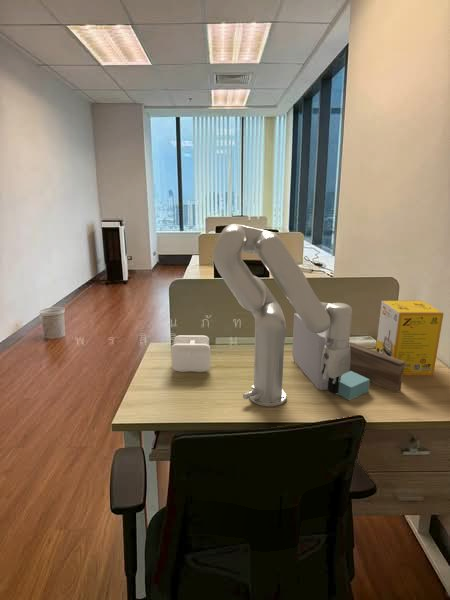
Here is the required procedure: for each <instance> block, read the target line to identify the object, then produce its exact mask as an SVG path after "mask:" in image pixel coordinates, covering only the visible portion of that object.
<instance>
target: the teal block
mask: <svg viewBox="0 0 450 600" xmlns="http://www.w3.org/2000/svg"><path fill="white" fill-rule="evenodd" d="M370 382H371V381H370V379H368V378H365V377H363V376H361V375H359V374H357V373H355V372H352V371H349V372H347V373H345V374H343V375H342V376H341V380H340V382H339V390H338V393H336V394H338V395H339V396H341V397H343V398H345V399H347V400H349V401H351V400H354V399H355V398H357V397H359V396H360V397H361V396H362V395H364V394H367V393H368V392H369V390H370V389H369V387H370Z"/></svg>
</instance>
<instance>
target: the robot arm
mask: <svg viewBox="0 0 450 600" xmlns="http://www.w3.org/2000/svg"><path fill="white" fill-rule="evenodd" d="M243 253H246V254H250V255H256V256H258V258H259V260H260V261H261V263H262V264H263V266H264V267H265V268H266V270H267V271H268V272H269V274H270V275H271V277H272V278H273V279H274V281H275V283H276V284H277V286H278V288H279V289H280V291H281V292H282V293H283V295H284V296H285V297H286V299H287V300H288V301H289V303H290V304H291V306H292V307H293V308H294V311H295V312H296V313H298V315H299V316H300V318H301V319H302V321H303V322H304V324H305V325H306V327H307V328H308V329H309V330H310V331H312V332H314V333H322V332H325V331H326V334H325V346H324V350H323V355H322V361H321V373H322V374H323V378H322V379H323V380H325V381H328V389H327V392H329V393H331V394H332V395H336V394H337V393H338V390H339V382H340V380H341V376H342V375H343V374H345V373H347V372H348V371H349V370H350V361H351V351H350V344H349V343H350V339H351V338H350V336H351V328H352V327H351V326H352V317H353V316H352V315H353V309H352V306H350V305H349V304H347V303H344V302H333V303H329V302H323V301H320V300H319V298H318V296H317V294H315V291H314V289H312V287H311V285H310V283H309V281H308V279H307V277H306V275H305V273H304V271H303V270H302V269H301V267H300V266H299V265H298V263H297V262H296V260H295V258H294V257H293V255H292V254H291V253H290V251H289V249H288V248H287V246H286V245H285V243H284V242H283V241H282V239H281V238H280V236H279V235H278V234H277V233H276V232H273V231H269V230H265V229H262V228H261V229H259V228H255V227H251V226H246V225H243V224H237V223H231V224H229V225H226V226H225V227H223V229H222V231H221V232H220V234H219V235H218V238H217V240H216V242H215V245H214V247H213V253H212V257H213V263H214V266H215V268H216V270H217V272H218V274H219V275H220V277H221V278H222V280H223V281H224V283H225V285H227V287H228V289H229V290H230V291H231V293H232V295H233V296H234V297H235V299H236V300H237V302H238V304H239V305H240V306H241V307H242V308H243V309H245V310H246V311H250V313H251V314H252V315H253V317H254V363H253V364H254V366H253V367H254V368H253V385H251V389H250V390H249V391H248V392H245V393H243V394H242V398H243V399H244V400H247V399H250V401H251V402H253V404H255V405H259V406H262V407H269V408H270V407H277V406H281V405H282V404H284V403H285V402H286V401H287V394H286V393H287V392H286V391H285V390H283V379H284V378H283V376H284V374H283V373H284V357H285V356H284V350H285V341H286V330H287V325H286V319H285V318H286V317H285V315H284V312H283V310H282V307H281V305H280V304H279V302H278V301H277V299H276V298H275V296H274V295H273V293H272V292H271V291H270V289H269V287H268V286H267V285H266V284H265V282H264V281H263V280H262V279H261V278H260V277H258V276H256V275H254V274H253V273H252V272H251V270H250V268H249V267H248V265H247V264H246V263H245V262H244V260H243V257H242V254H243Z"/></svg>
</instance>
